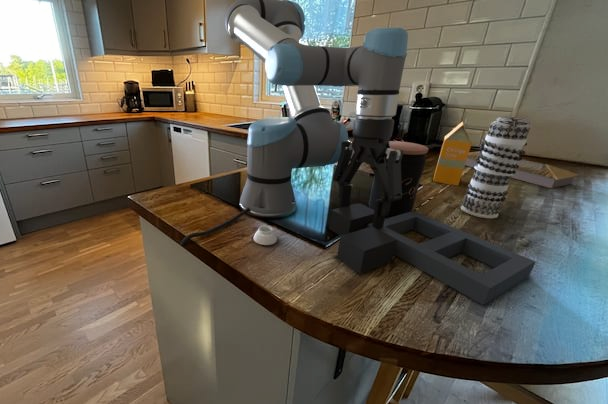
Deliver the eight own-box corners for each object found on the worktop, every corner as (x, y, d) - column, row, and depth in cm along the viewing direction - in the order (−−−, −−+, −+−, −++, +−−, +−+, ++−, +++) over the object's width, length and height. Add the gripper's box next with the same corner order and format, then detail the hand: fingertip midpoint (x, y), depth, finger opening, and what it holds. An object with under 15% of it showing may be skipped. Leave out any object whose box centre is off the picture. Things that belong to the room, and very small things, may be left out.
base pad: (483, 305, 48) (490, 288, 46) (365, 237, 67) (367, 223, 66) (528, 277, 55) (536, 261, 53) (410, 223, 74) (413, 210, 73)
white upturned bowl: (278, 237, 66) (256, 233, 68) (279, 225, 65) (257, 221, 67) (273, 248, 62) (250, 244, 63) (274, 236, 61) (251, 232, 62)
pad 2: (359, 274, 55) (364, 250, 53) (336, 257, 59) (340, 235, 57) (392, 261, 59) (397, 239, 57) (367, 246, 63) (372, 226, 61)
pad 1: (347, 240, 66) (350, 220, 64) (328, 228, 71) (331, 209, 69) (375, 231, 70) (379, 212, 68) (355, 221, 75) (359, 202, 73)
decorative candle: (459, 202, 87) (488, 114, 77) (498, 210, 83) (535, 117, 73) (458, 212, 81) (489, 117, 71) (501, 222, 76) (541, 121, 66)
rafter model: (451, 162, 129) (456, 148, 126) (473, 159, 134) (477, 146, 132) (553, 189, 99) (561, 171, 97) (575, 184, 105) (583, 167, 102)
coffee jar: (392, 223, 74) (409, 152, 66) (359, 207, 82) (371, 143, 75) (419, 215, 78) (438, 148, 71) (385, 201, 87) (399, 139, 80)
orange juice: (458, 178, 108) (476, 122, 100) (458, 185, 101) (478, 125, 93) (433, 174, 111) (449, 120, 103) (432, 181, 105) (448, 123, 97)
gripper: (322, 114, 67) (314, 206, 75) (413, 123, 49) (390, 244, 57) (347, 112, 70) (336, 201, 78) (440, 121, 52) (414, 235, 60)
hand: (359, 219), depth 68 cm, fingers open, 9 cm apart
